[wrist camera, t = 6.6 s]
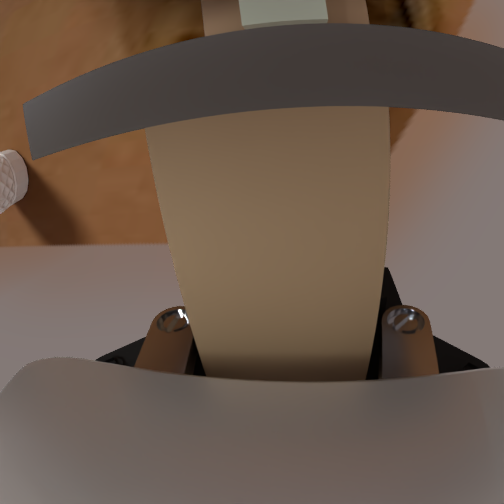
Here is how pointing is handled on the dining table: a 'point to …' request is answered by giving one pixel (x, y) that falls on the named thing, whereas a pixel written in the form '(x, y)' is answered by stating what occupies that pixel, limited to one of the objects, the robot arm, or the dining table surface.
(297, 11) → the tile sage
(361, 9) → the wooden block
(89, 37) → the dining table surface
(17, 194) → the white cup
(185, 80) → the scraper
